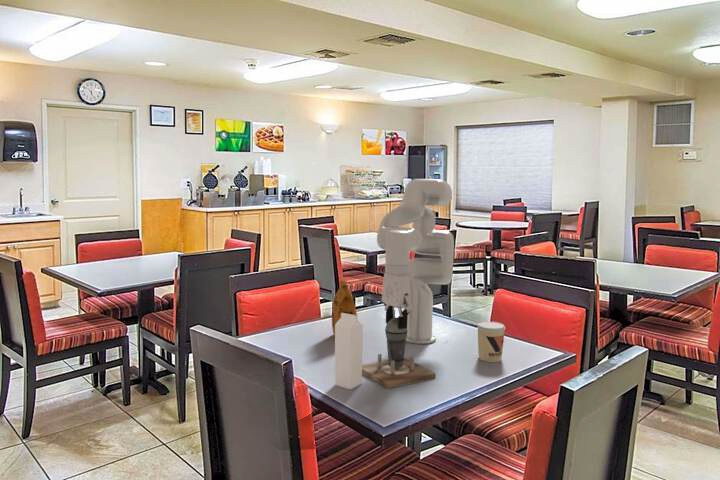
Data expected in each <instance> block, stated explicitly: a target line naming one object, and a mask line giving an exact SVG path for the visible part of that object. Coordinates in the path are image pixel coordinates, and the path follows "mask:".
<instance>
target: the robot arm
mask: <svg viewBox="0 0 720 480" xmlns="http://www.w3.org/2000/svg"><path fill="white" fill-rule="evenodd" d="M452 198H453V191H452V187H451V185H450V184H449V183H448V182H447V181H445V180H443V179H439V178H416V179H412V180H410V181H409V182H408V183H407V184H406V186H405V189H404V192H403V196H402V199H401V202H400V205H398V206H396V207H395V208H393V209H392V210H390V211H389V212H388V213H386V214H385V215H384V216H383V218H382V219H381V222H380V224H379V227H378V231H377V234H376V243H377V245H378V248H380V249H382V250H385V259H384V260H385V266H384V267H385V268H384V269H385V270H384V273H383V274H384V275H383V280H382V286H381V287H382V288H381V289H382V290H381V302H382V303H383V305H384V311H385V324H387V323H388V321H389V320H391V319H392V318H394V317H393V307H394V311H395V312H396V310H395V308H396V309H397V310H398V313H399V315H398V317H397V318H398V329H403V328H407V330H408V332H407V337H406V342H407V343H410V344H415V345H416V344H419V345H423V344H424V345H426V344H431V343H434V342H435V341H436V340H437V337H436V335H435V334H433V315H434V314H433V307H434V295H433V292H432V290H431V288H430V287H429V285H440V286H442V285H446V286H447V285H449V284H450V283H451V282H452V279H453V271H454V270H453V269H454V253H455V252H454V250H455V239H454V235H453V234H452V232H451V231H449V230H440V229H437V230H436V215H435V214H434V212H433V211H432V209H431V208H430V207H431V206H432V207H433V206H434V207H435V206H438V207H446V206H448V205H450V204H451V201H452V200H453V199H452ZM411 223H412V227H403V226H405V225H409V224H411ZM410 252H413V253H414V254H417V255H425V256H438V257H439V256H440V258H430V257H429V258H427V257H426V258H424V257H413V258H411V259H410V255H411V254H410ZM392 306H393V307H392Z"/></svg>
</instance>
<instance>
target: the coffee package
mask: <svg viewBox="0 0 720 480" xmlns="http://www.w3.org/2000/svg"><path fill="white" fill-rule="evenodd" d="M339 284H340V287H339V289H338V290H337V292H336V293H335V295H334V297H333V302H332V311H331V326H332V333H333V335H334V337H335V324H336V323H337V322H338V320H339V319H340V318H341V313H346V314H351V315H356V316H357V317H358V312H357V310H356V305H355V301H354V298H353V294H352V292H351V290H350V287H348V286H349V282H348V281H346V280H344V279H341V280H339ZM357 321H358V322H359V320H358V319H357Z"/></svg>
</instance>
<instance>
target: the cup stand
mask: <svg viewBox="0 0 720 480" xmlns="http://www.w3.org/2000/svg"><path fill="white" fill-rule="evenodd" d="M382 358H383V357H382V353H378V354H377V361H374V362H369V363H364V364H362V375H365V376H366V377H368V378H369V379H371V380H372V381H374V382H376V383H377V382H378V383H377V384H379V385H381V386H382V385H383V387H384V388H386V389H387V390H388V388H389V389H392V387H393V388H397V387H396V386H398V387H401V386H400V385H402V386H405V384H406V385H410V384H409V383H411V384H414V382H415V383H420V382H423V380H424V381H427V380H433V379H435V378H436V375H437V374H436V372H434V371H433V370H430V369H428V368H426V367H424V366H422V365H420V364H418V363H416V362H415V357H414V356H410V359H408V358H405V357H404V362H403V367H401V368H395V361H391V367H390V366H389V361H388V359H386V360H382Z"/></svg>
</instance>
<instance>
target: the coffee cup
mask: <svg viewBox="0 0 720 480" xmlns="http://www.w3.org/2000/svg"><path fill="white" fill-rule="evenodd" d="M476 328H477V345H478V346H477V347H478V349H477V350H478V359H479V360H481V361H482V362H488V363H499V362H501V361H502V357H503V348H504V339H505V330H506V327H505V325H504V324H503V323H501V322H497V321H481V322H479V323H478V324H477V326H476Z"/></svg>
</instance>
